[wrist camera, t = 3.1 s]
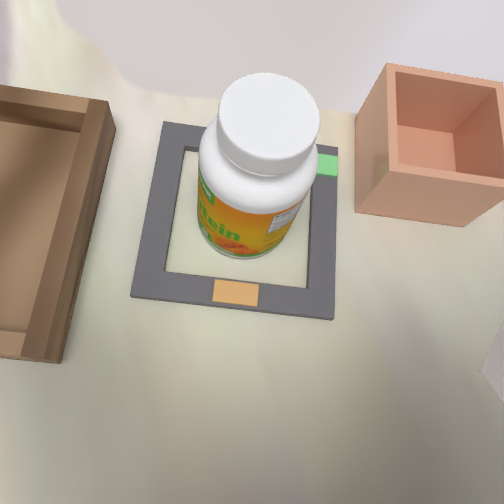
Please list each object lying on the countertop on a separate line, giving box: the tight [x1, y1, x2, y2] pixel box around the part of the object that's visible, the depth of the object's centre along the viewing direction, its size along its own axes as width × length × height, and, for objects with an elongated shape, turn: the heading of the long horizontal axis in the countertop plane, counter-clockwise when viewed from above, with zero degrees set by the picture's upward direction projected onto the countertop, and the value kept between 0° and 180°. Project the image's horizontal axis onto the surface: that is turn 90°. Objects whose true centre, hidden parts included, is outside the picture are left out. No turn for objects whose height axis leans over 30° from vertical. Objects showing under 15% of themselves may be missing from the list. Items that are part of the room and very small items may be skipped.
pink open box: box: [355, 63, 504, 227], centre depth 26 cm, size 7×7×5 cm
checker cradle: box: [130, 121, 338, 320], centre depth 25 cm, size 11×11×1 cm
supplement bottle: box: [197, 73, 320, 259], centre depth 21 cm, size 5×5×10 cm
